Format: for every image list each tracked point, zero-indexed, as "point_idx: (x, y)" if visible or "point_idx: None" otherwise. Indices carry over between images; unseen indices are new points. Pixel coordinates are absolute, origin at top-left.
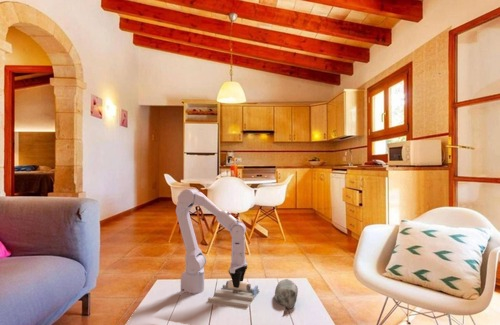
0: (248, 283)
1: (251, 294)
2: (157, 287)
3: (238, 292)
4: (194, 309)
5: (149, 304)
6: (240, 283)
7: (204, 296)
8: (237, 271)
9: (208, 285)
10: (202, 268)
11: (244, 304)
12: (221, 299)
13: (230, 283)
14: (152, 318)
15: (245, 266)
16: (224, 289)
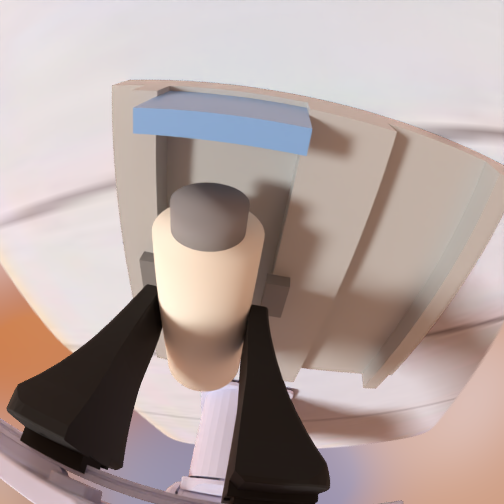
0: (160, 236)
1: (219, 146)
2: None
3: None
4: (402, 379)
5: (346, 442)
6: (230, 320)
7: None
8: (292, 496)
9: None
10: (207, 492)
11: (502, 200)
12: (403, 344)
13: (231, 371)
14: (431, 420)
15: (44, 432)
16: None
